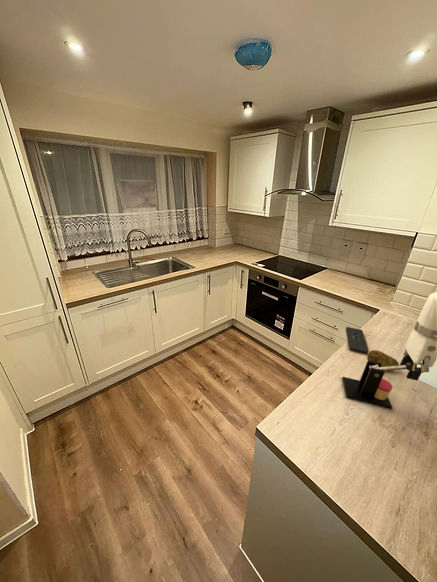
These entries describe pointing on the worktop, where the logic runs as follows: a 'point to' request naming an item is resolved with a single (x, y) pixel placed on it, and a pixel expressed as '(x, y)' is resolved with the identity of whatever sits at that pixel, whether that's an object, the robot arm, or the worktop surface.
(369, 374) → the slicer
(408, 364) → the black ball knob
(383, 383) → the cake
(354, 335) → the smart home device
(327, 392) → the worktop surface
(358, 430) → the worktop surface
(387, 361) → the potato
